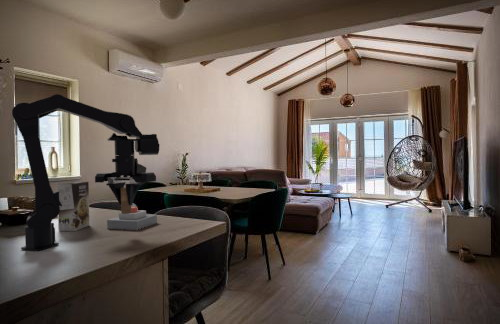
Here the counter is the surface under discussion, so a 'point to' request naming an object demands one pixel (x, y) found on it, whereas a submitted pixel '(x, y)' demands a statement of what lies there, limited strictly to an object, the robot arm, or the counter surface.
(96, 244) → the counter surface
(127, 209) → the tapered wooden peg
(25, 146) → the robot arm
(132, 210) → the plunger
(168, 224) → the counter surface
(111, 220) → the button box
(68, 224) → the coffee box
